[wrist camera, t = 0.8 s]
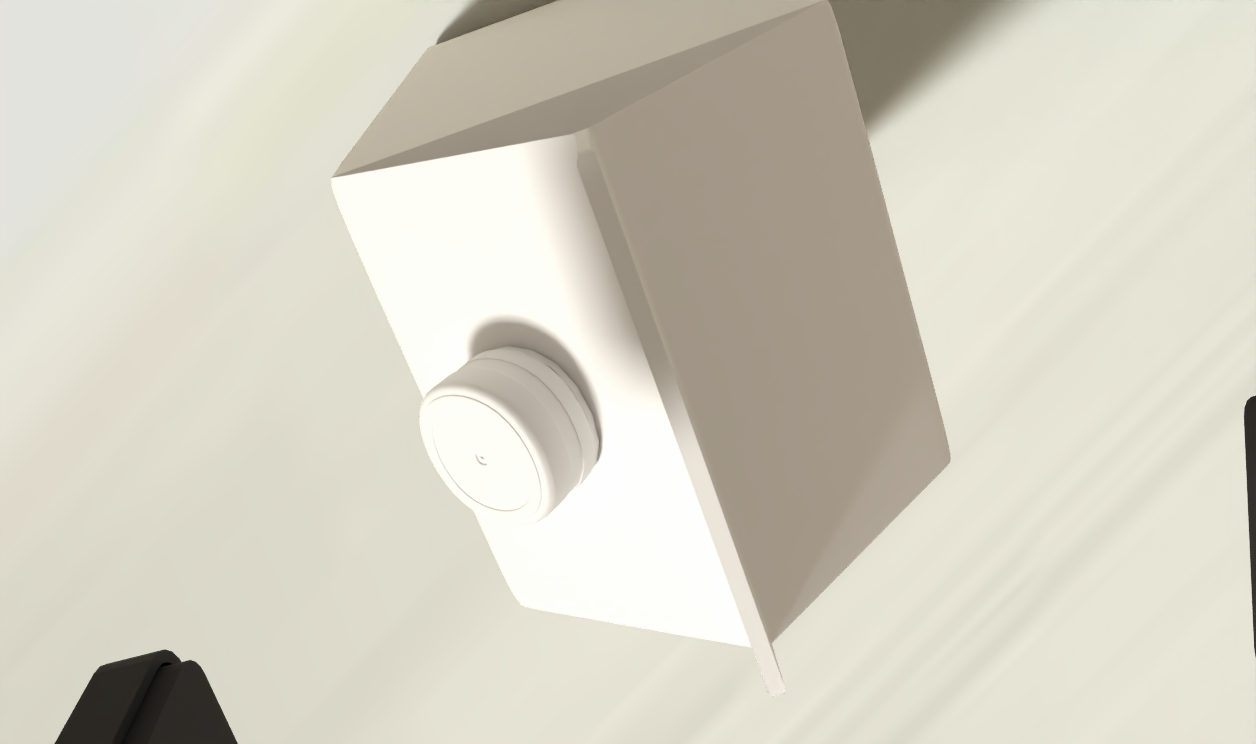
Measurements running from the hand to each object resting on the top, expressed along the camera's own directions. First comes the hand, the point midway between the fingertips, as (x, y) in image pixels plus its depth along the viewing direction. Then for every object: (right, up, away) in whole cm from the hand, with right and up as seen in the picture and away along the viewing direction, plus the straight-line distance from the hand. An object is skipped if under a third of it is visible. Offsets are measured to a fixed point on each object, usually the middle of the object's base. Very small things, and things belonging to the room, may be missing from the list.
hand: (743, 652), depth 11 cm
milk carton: (-2, +9, +21) cm, 22 cm away
